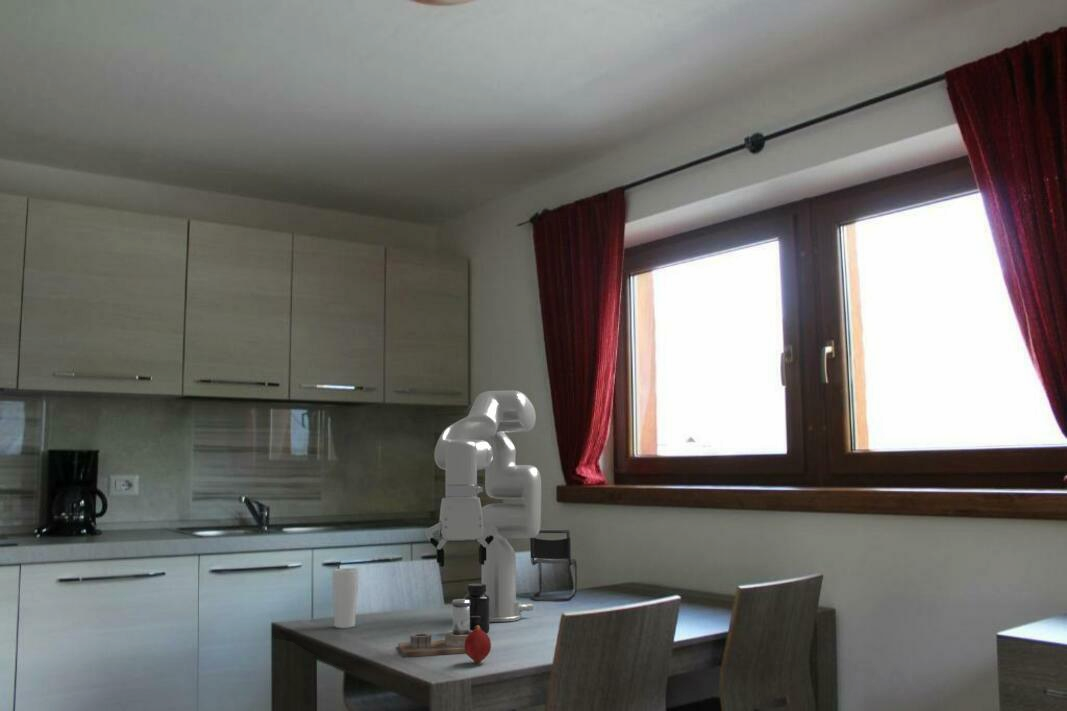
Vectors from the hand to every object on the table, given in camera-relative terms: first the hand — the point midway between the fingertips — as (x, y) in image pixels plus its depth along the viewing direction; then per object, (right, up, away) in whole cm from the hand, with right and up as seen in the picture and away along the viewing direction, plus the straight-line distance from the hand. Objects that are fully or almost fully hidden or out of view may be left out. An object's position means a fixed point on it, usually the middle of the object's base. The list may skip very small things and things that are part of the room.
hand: (461, 565), depth 221 cm
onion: (+5, -17, -19) cm, 26 cm away
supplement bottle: (+2, -21, +18) cm, 28 cm away
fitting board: (-4, -19, -4) cm, 20 cm away
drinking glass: (-33, -23, +27) cm, 48 cm away
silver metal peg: (0, -18, -2) cm, 18 cm away
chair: (+24, -28, +78) cm, 86 cm away
